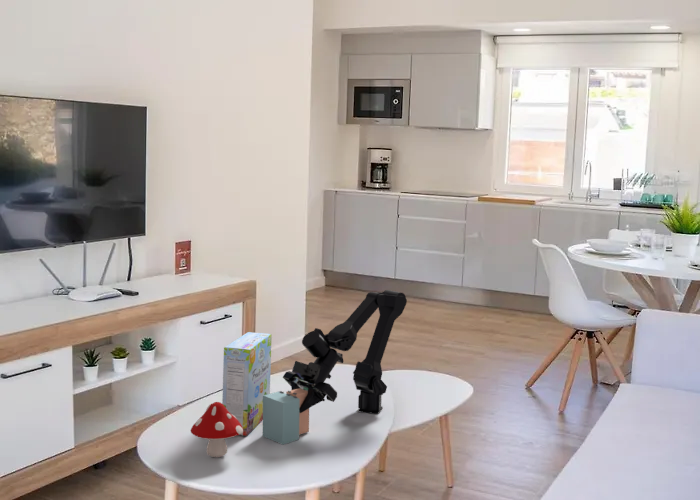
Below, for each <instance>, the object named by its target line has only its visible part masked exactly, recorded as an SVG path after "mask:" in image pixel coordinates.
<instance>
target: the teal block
mask: <svg viewBox="0 0 700 500" xmlns="http://www.w3.org/2000/svg"><path fill="white" fill-rule="evenodd" d="M299 405H300V399H299V398H297V397H296V396H291V395H290V394H286V393H285V392H284V391H282V390H280V391H276V392H272V393H271V392H270V394H267V395H263V420H262V437H265V438H266V439H269V440H271V441H273V442H276V443H278V444H281V445H282V446H283V445H286V444H290V443H292V441H293V442H296V441H299V440H300V435H299ZM298 439H299V440H298ZM295 440H296V441H295Z"/></svg>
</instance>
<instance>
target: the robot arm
mask: <svg viewBox="0 0 700 500" xmlns="http://www.w3.org/2000/svg"><path fill="white" fill-rule="evenodd" d="M407 300H408V298H407V296H406V295H405V293H404V292H401V291H396V290H395V291H394V290H390V289H386V290H384V291H382V292H379V291H375V292H374V291H370V292H368V293H367V294H366V295H365V298H364V299H363V301H361V302H360V304H359V305H358V306H357V307H356V308H355V310H354V311H353V312H352V313H351V314H350V316H349V317H348V318H347V319H346V320H345V321H344V322H342V323H340V324H337V325H336V326H334V327H333V328H331V330H330V331H329V332H328V333H326V334H324V333H323V330H322V329H320V328H318V327H317V328H316V327H315V328H314V329H313V330H312V331H309V332H308V333H307V334H305V335H304V336H303V338H302V340H301V344H302V345H303V346H304V348H305V349H306V350H307V351H308V352H309V354H310V355H312V357H314V358H315V360H314V362H312V361H310V362H309V363H308V364H307V363H304V362H301V361H297V360H295V361H294V363H293V367H292V370H291V371H290V370H287V371H285V373H284V374H283V376H282V378H283V379H284V381H285V382H286V383H288V385H289V386H290V388H291V390H295V389H299V388H300V389H303V387H306V388H308V394H307V396H306V398H305V400H304V401H303V403H302V405H301V406H300V408H299V412H300V413H302V412H304V411H305V410H307V409H309V410H310V409H311V408H312V407H313V406H316V405H317V404H319V403H321V402H325V401H326V400H327V401H330V402H334V403H335V401H336V399H337V398H338V392H337V390H336V389H335V388H334V387H333V386H332V385H331V384H330V383H327V382H325V381H326V380H327V379H329V380H331V378H332V375H331V372H332V371H333V370H334V368H335V366H336V364H337V363H340V364H344V358H343V356H344V355H343V353H340V352H338V351H341V352H348V351H350V350H351V349H352V347H353V346H354V344H355V342H356V341H357V337H358V333H359V332H360V330H361V329H362V327H363V326H364V325H365V324H366V323H367V321H368V320H369V319H370V318H371V317H372V315H374V313H375V312H376V311H377V310H378V312H379V318H378V319H377V320H378V321H377V322H376V326H375V329H374V332H373V335H372V338H371V340H370V343H369V347H368V350H367V354H366V355H365V358H364V359H363V360H362V361H359V360H358V361H357V362H356V363H355V369H354V371H353V372H352V374H353V377H352V380H353V382H354V385H355V388H356V389H355V390H357V391H360V392H359V394H358V396H357V397H358V402H357V404H358V406H357V407H358V412H359V413H367V414H373V415H374V414H375V415H378V414H380V412H381V411H382V409H383V405H382V395H384V394H386V392H387V388H388V386H387V385H386V383H385V382H384V381H383V380H382V378H383V377H382V376H383V369H382V364H381V362H382V361H383V357H384V354H385V351H386V349H387V345H388V342H389V339H390V335H391V333H392V329H393V327H394V324H395V321H396V320H397V319H398V318H399V317H401V315H402V314H403V312H404V309H405V308H406V305H407V302H408V301H407ZM292 371H293V372H292ZM294 372H298V373H300V376H301V377H303V378H304V379H301V377H300V376H299V375H298V374H297V373H294ZM307 384H308V385H307ZM325 398H326V399H325Z"/></svg>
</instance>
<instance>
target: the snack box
mask: <svg viewBox="0 0 700 500" xmlns="http://www.w3.org/2000/svg"><path fill="white" fill-rule="evenodd" d="M271 358H272V334H271V333H266V332H253V331H252V332H251V331H248V332H245V334H243V335H241V336H239V337H238V338H237V339H235V340H234V341H231V342H230V343H229V344H227V345H226V346H224V347H223V365H222V366H223V367H222V371H223V372H222V400H221V401H222V404H223V405H224V406H225V408H226V409H227V410H228V411H229V412H230V414H232V415H234V416H235V417H236V418H237V420H238V421H239V422H240V423H241V425H242V427H243V433H242V434H240V435H239V436H243V437H247V436H248V435H249V434H250V433H251V432H252V431H253V430H254V429H255V428H257V426H258V425H259V424H260V423H261V422H263V395H267V394H271V371H272V370H271V368H272V367H271V365H272V364H271V363H272V359H271Z"/></svg>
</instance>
